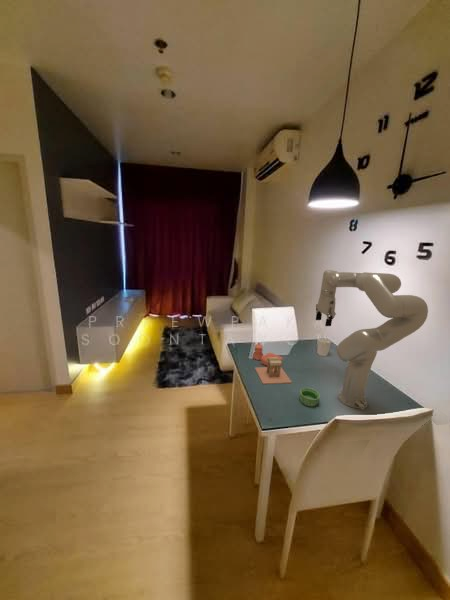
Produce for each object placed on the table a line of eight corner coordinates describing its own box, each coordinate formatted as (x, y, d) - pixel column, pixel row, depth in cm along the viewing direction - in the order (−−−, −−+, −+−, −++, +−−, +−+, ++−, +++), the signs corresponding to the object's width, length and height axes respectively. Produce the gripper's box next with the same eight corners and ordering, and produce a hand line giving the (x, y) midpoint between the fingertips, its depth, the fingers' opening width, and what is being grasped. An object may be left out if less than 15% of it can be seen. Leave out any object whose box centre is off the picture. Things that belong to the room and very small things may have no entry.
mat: (291, 383, 132) (291, 382, 132) (263, 384, 130) (263, 383, 129) (280, 367, 147) (280, 366, 147) (254, 368, 145) (254, 367, 145)
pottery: (281, 363, 151) (283, 348, 149) (273, 368, 144) (274, 353, 142) (258, 354, 163) (259, 340, 161) (249, 358, 157) (250, 343, 154)
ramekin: (305, 408, 113) (306, 400, 112) (295, 396, 121) (296, 388, 120) (322, 406, 115) (323, 398, 114) (311, 394, 124) (313, 386, 122)
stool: (279, 377, 136) (281, 362, 134) (269, 377, 135) (271, 362, 133) (276, 371, 142) (277, 357, 139) (266, 371, 141) (267, 357, 138)
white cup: (322, 350, 174) (324, 337, 171) (331, 355, 166) (333, 342, 164) (313, 352, 171) (315, 338, 168) (321, 357, 164) (324, 343, 161)
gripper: (344, 297, 127) (338, 328, 132) (324, 289, 144) (320, 317, 148) (331, 297, 126) (325, 328, 130) (313, 289, 142) (309, 318, 147)
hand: (323, 322), depth 139 cm, fingers open, 9 cm apart
